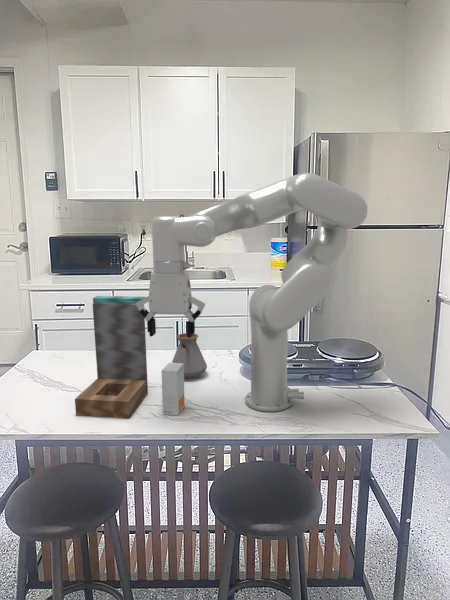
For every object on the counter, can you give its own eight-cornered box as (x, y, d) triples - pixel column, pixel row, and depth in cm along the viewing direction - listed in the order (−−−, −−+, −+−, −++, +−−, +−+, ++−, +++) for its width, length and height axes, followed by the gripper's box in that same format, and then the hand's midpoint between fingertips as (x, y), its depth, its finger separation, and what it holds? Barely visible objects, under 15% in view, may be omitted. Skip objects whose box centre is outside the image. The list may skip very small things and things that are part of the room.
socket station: (150, 390, 129) (145, 296, 124) (129, 418, 112) (123, 311, 107) (103, 388, 131) (97, 295, 126) (76, 415, 114) (67, 309, 109)
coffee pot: (172, 368, 147) (171, 324, 144) (208, 368, 147) (207, 324, 144) (163, 395, 126) (161, 344, 123) (204, 395, 126) (203, 344, 123)
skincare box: (178, 416, 113) (177, 371, 111) (162, 414, 114) (160, 370, 112) (185, 406, 119) (184, 362, 117) (170, 404, 120) (168, 361, 118)
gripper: (206, 266, 112) (208, 332, 115) (139, 265, 114) (142, 330, 118) (201, 270, 105) (202, 341, 108) (129, 269, 107) (133, 338, 110)
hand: (171, 335), depth 113 cm, fingers open, 9 cm apart
